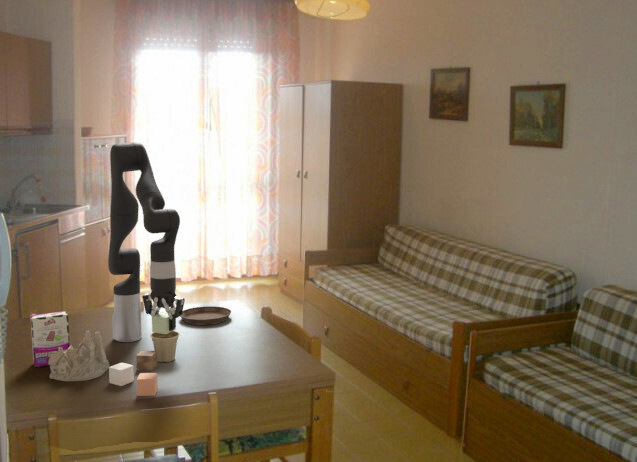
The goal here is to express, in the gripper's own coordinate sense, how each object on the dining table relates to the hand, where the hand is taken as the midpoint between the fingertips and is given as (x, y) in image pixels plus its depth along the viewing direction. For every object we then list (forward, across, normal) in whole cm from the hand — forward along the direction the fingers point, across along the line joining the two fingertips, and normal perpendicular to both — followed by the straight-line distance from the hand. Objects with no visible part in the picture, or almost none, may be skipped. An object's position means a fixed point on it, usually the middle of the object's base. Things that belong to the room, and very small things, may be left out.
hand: (164, 328), depth 202 cm
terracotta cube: (+15, +3, -13) cm, 20 cm away
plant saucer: (+16, -20, +60) cm, 65 cm away
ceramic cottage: (+16, -26, -7) cm, 31 cm away
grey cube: (+15, -9, -9) cm, 20 cm away
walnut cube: (+15, -9, +4) cm, 18 cm away
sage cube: (+1, 0, 0) cm, 1 cm away
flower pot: (+16, -8, +13) cm, 22 cm away
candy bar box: (+16, -40, -4) cm, 44 cm away
